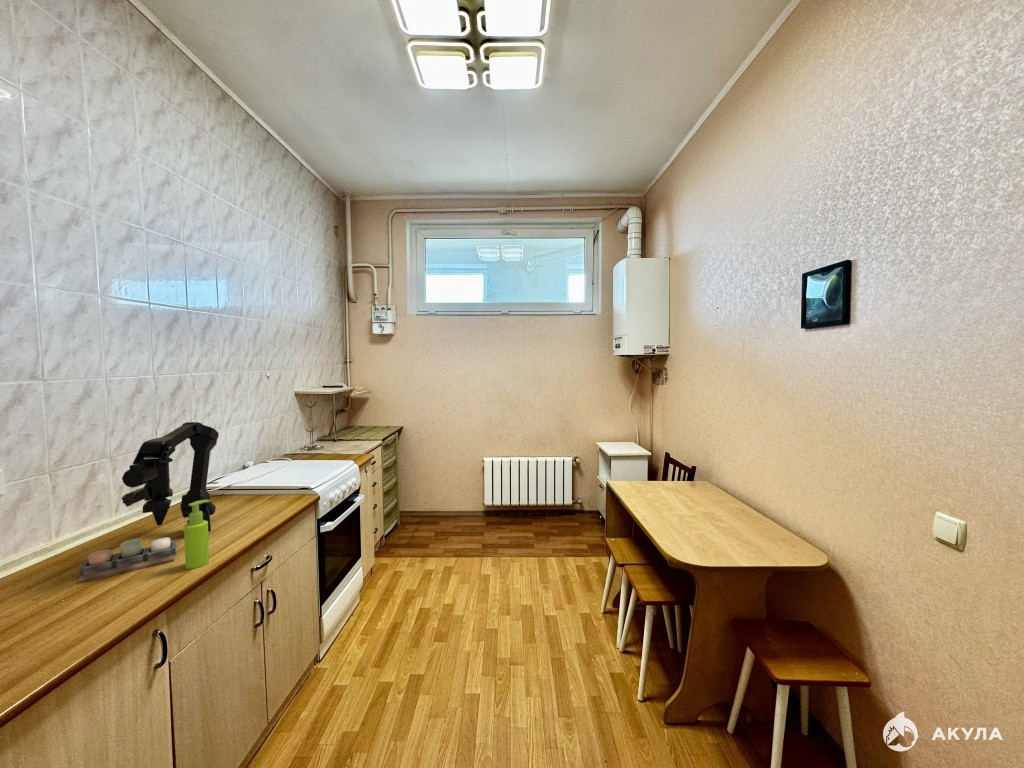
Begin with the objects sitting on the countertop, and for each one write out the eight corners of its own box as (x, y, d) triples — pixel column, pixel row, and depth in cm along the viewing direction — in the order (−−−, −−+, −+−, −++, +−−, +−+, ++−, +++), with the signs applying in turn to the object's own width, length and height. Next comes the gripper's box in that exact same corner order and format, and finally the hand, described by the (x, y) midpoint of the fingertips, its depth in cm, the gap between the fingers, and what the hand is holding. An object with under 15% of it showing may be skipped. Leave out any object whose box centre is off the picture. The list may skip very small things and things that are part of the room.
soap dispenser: (217, 559, 127) (214, 499, 126) (193, 570, 120) (191, 506, 119) (204, 557, 129) (202, 497, 128) (181, 567, 122) (178, 504, 121)
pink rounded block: (112, 560, 124) (112, 548, 124) (109, 566, 120) (109, 553, 120) (90, 565, 121) (90, 552, 121) (87, 571, 117) (86, 558, 117)
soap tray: (177, 545, 137) (177, 537, 137) (175, 561, 126) (174, 551, 126) (88, 565, 124) (87, 555, 124) (76, 584, 113) (76, 573, 113)
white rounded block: (171, 547, 133) (170, 536, 132) (170, 553, 129) (169, 541, 129) (152, 551, 130) (151, 540, 129) (150, 557, 126) (149, 545, 126)
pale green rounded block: (142, 549, 128) (142, 537, 128) (140, 554, 124) (140, 542, 124) (122, 553, 125) (121, 541, 125) (119, 559, 121) (119, 546, 121)
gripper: (128, 476, 130) (129, 522, 131) (118, 490, 116) (120, 541, 116) (172, 471, 137) (173, 514, 138) (168, 483, 123) (170, 531, 123)
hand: (159, 525), depth 129 cm, fingers closed
